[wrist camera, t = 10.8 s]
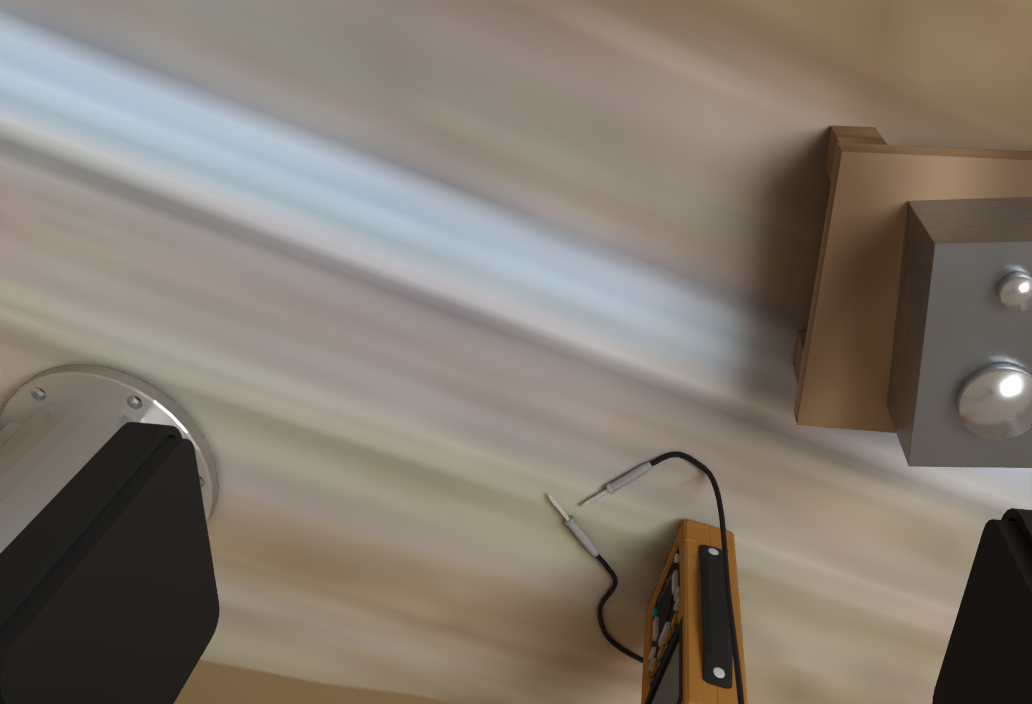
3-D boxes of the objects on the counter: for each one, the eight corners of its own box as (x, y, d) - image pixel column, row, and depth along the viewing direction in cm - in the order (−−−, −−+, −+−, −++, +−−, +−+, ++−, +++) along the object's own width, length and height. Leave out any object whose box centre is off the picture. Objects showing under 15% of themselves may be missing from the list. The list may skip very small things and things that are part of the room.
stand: (785, 369, 46) (796, 424, 42) (824, 118, 41) (842, 151, 36) (1053, 389, 45) (1093, 449, 40) (1131, 131, 39) (1188, 167, 35)
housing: (907, 200, 37) (939, 250, 32) (1064, 195, 36) (1120, 246, 31) (886, 405, 41) (912, 475, 36) (1027, 406, 40) (1071, 477, 35)
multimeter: (569, 417, 49) (508, 734, 32) (759, 471, 49) (804, 820, 32) (505, 623, 56) (427, 975, 39) (671, 670, 56) (668, 1045, 39)
